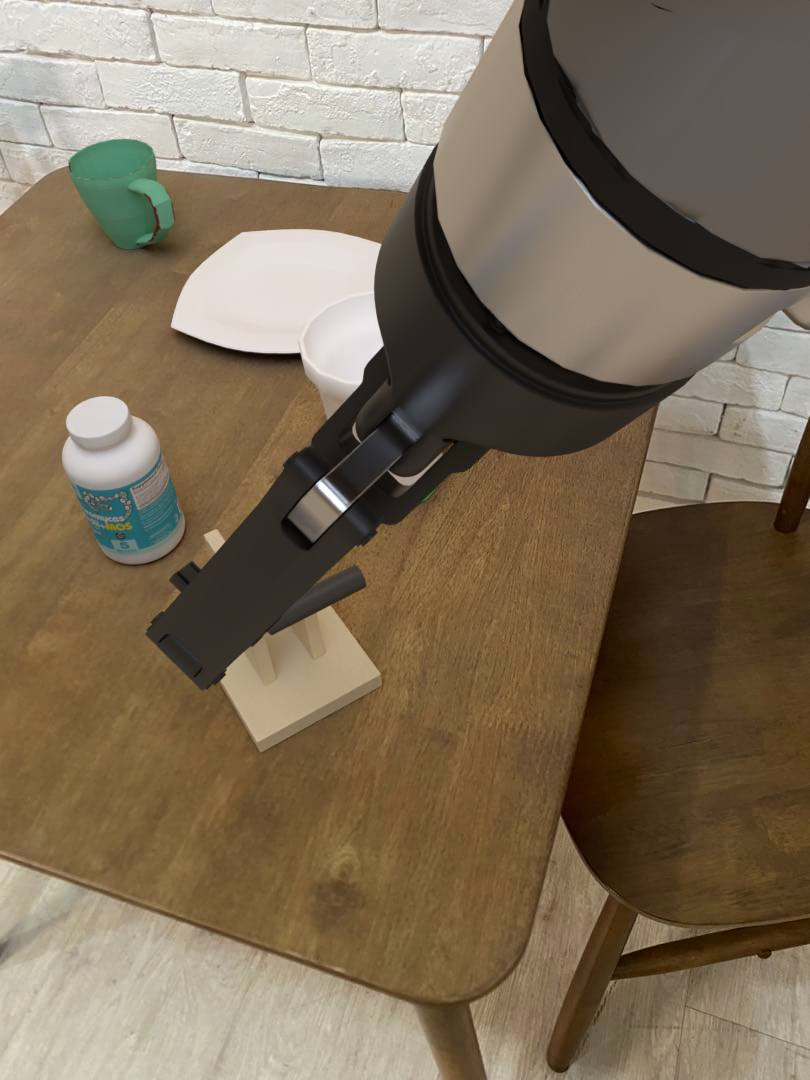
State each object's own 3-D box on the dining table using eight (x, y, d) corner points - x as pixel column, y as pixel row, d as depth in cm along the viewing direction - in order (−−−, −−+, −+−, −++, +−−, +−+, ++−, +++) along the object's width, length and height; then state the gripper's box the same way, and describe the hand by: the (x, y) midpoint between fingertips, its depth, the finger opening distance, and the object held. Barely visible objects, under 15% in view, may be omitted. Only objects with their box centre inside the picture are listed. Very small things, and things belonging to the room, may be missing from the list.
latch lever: (372, 597, 53) (358, 559, 52) (277, 646, 51) (260, 608, 50) (296, 549, 64) (284, 517, 63) (217, 587, 62) (203, 556, 61)
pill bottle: (82, 546, 80) (24, 426, 70) (144, 493, 84) (98, 372, 73) (144, 582, 77) (93, 462, 66) (205, 525, 80) (166, 404, 70)
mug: (78, 242, 113) (49, 162, 106) (144, 209, 118) (122, 130, 110) (148, 285, 106) (123, 203, 99) (216, 248, 110) (197, 167, 103)
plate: (147, 351, 98) (142, 335, 96) (235, 235, 112) (232, 220, 111) (355, 381, 92) (353, 365, 91) (420, 255, 107) (419, 239, 105)
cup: (482, 446, 85) (482, 302, 74) (433, 544, 77) (425, 400, 66) (357, 418, 89) (339, 277, 77) (299, 509, 81) (269, 367, 70)
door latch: (382, 685, 69) (365, 563, 58) (260, 753, 65) (219, 637, 55) (306, 580, 76) (279, 455, 65) (193, 637, 73) (145, 515, 62)
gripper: (320, 816, 15) (177, 810, 34) (942, 96, 25) (562, 404, 44) (-23, 478, 14) (28, 665, 34) (752, -113, 25) (452, 289, 44)
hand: (332, 517), depth 39 cm, fingers open, 13 cm apart
